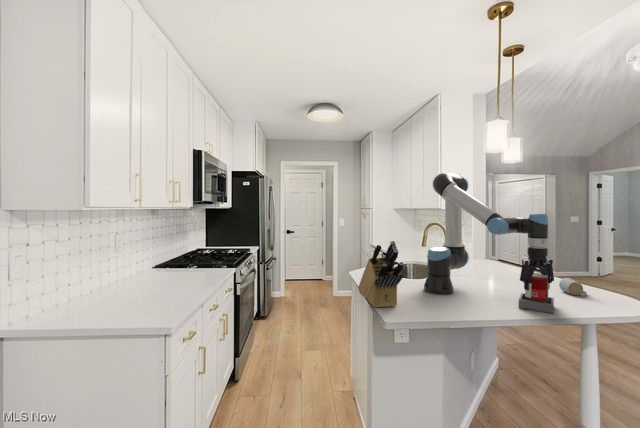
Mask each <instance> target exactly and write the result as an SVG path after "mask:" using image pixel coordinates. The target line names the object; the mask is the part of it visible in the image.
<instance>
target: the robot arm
mask: <svg viewBox="0 0 640 428" xmlns="http://www.w3.org/2000/svg"><path fill="white" fill-rule="evenodd" d="M432 189H433V190H434V191H435V193H437V195H439V196H440V197H441V198H442V199H443V200H444V202H445V203H444V207H445V208H444V209H445V210H444V211H445V213H444V214H445V217H444V218H445V219H444V226H445V227H444V228H445V239H444V241H445V242H444V243H443V244H442V246H438V247H437V246H435V247H431V248H429V249H428V250H427V255H426V258H427V273H426V274H427V276H426V279H425V282H424V284H423V290H424V291H425V292H427V293H430V294H436V295H451V294H454V286H453V283H452V280H451V270H458V269H461V268H463V267H465V266H466V265H467V264H468V262H469V258H470V257H469V256H470V255H469V253H468V251H467V250H466V247H465V246H466V245H465V244H464V243H463V240H462V239H463V235H462V233H463V231H462V229H463V227H462V226H463V225H462V223H463V221H462V219H463V218H462V217H463V216H462V215H463V214H462V210H464V211H465V212H466V213H467V214H469V215H470V216H472V217H474V218H475V219H476V220H478V221H479V223H481V224H483V225H484V226H486V227H487V228H486V229H487V230H488V232H490V233H491V234H492V235H497V236H498V235H499V236H500V235H506V234H526V235H527V246H528V247H527V256H528V258H527V259H522V260H521V265H522V266H521V271H520V275H519V281H520V282H523V288H524V294H525V296H526V297H528V298H531V283H530V281H531V278H532V275H533V273H535V271H536V270H537V269H539V271H540V272H539V273H540V274H543V275H548V292H549V290H550V288H551V287H550V284H552V283H553V282H554V281H555V276H554V268H553V262H554V260H553V259H549V258H547V257H548V254H549V253H548V250H549V249H548V245H549V241H548V240H549V237H548V236H549V234H548V233H549V217H548V214H547V213H528V215H527V217H516V216H515V217H512V216H502V215H500V214H499V213H497V212H496V211H495V210H493V209H492V208H490V207H488V206H487V205H486V204H485V203H483V202H481V201H479V200H478V199H477V198H475V197H474V196H472V195H470V193H467V191H468V190H469V182H468V179H467V177H465V176H464V175H462V174H458V173H447V172H442V173H439V174H437V175H436V176H434V178H433V180H432Z"/></svg>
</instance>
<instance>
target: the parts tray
mask: <svg viewBox="0 0 640 428" xmlns="http://www.w3.org/2000/svg"><path fill="white" fill-rule="evenodd" d="M554 306H555V298H554V297H550V296H548V298H547V300H545V301H539V300H533V299H529V298H528V297H526V296H525V292H524V293H523V292H521V294H520V296H519V298H518V309H523V310H527V311H528V310H529V311H533V312H540V313H545V314H549V315H554Z"/></svg>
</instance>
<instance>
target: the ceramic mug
mask: <svg viewBox="0 0 640 428" xmlns="http://www.w3.org/2000/svg"><path fill="white" fill-rule="evenodd" d="M558 286H559V289H560V290H561V291H563V292H564V293H568V294H570V295H572V296H579V295H581V294H583V295H584V296H585V295H586V296H587V291H585V290H584V287H583V285H582V284H581V283H580V282H578V281H576V280H574V279H572V278H570V277H564V278H562V279H560V281H559V283H558Z"/></svg>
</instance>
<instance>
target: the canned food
mask: <svg viewBox="0 0 640 428" xmlns="http://www.w3.org/2000/svg"><path fill="white" fill-rule="evenodd" d="M530 283H531V298H529V299H533V300H539V301H545V300H547V298H548V297H549V291H548V275H543V274H541V272H534V273H533V275H532V278H531V281H530Z"/></svg>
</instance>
